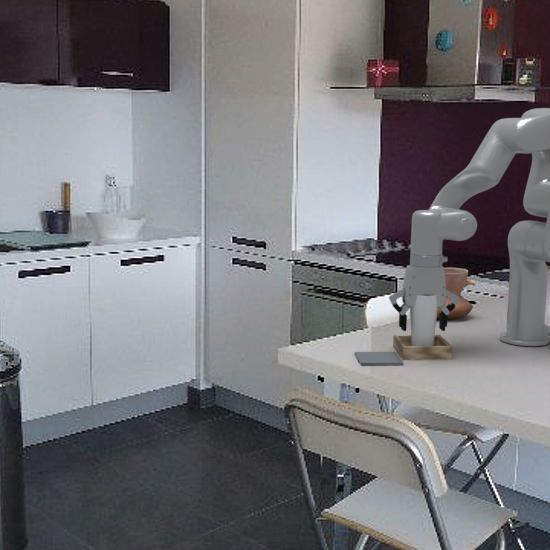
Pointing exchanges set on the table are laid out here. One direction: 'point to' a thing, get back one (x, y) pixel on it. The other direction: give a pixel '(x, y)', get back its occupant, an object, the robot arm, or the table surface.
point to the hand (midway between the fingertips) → (422, 329)
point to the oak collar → (422, 348)
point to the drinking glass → (423, 321)
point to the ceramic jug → (457, 292)
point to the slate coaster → (378, 358)
